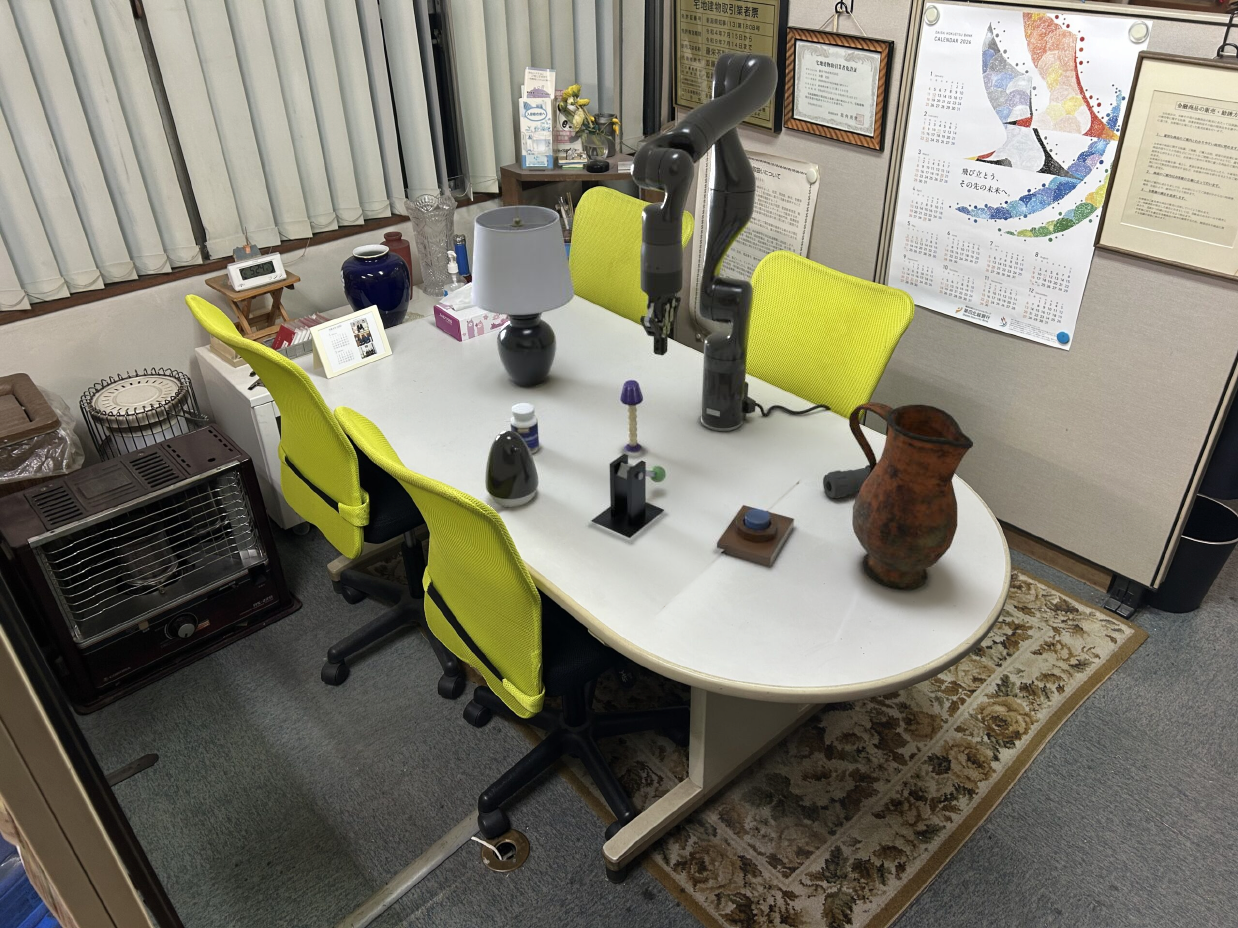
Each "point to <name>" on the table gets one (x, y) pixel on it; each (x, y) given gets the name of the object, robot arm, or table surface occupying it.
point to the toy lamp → (632, 411)
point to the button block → (755, 538)
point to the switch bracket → (627, 500)
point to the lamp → (521, 284)
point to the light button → (757, 519)
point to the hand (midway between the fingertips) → (660, 353)
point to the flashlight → (844, 482)
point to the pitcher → (908, 493)
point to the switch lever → (655, 473)
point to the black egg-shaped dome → (510, 471)
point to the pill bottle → (526, 425)
